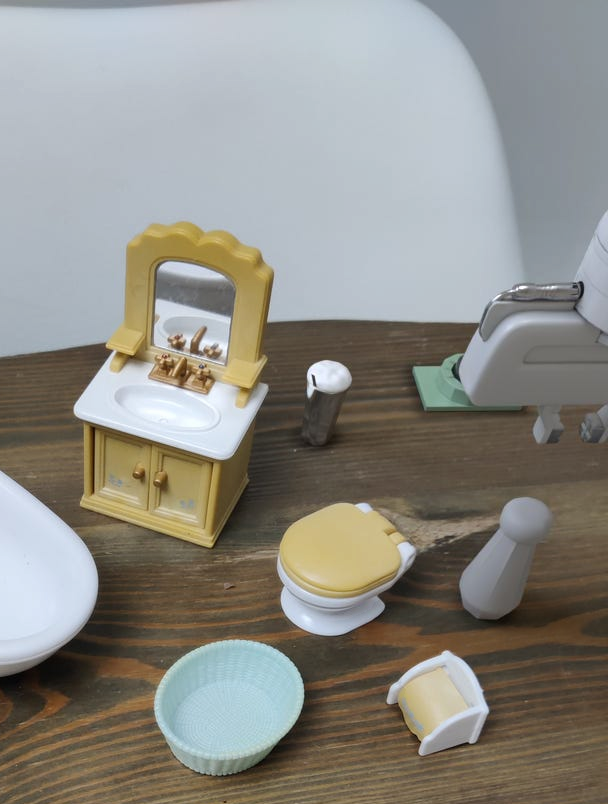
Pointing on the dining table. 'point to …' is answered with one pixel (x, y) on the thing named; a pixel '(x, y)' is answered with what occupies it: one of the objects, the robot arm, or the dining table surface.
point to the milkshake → (324, 400)
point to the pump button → (456, 370)
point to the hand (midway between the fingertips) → (567, 438)
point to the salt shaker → (505, 560)
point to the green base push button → (446, 389)
